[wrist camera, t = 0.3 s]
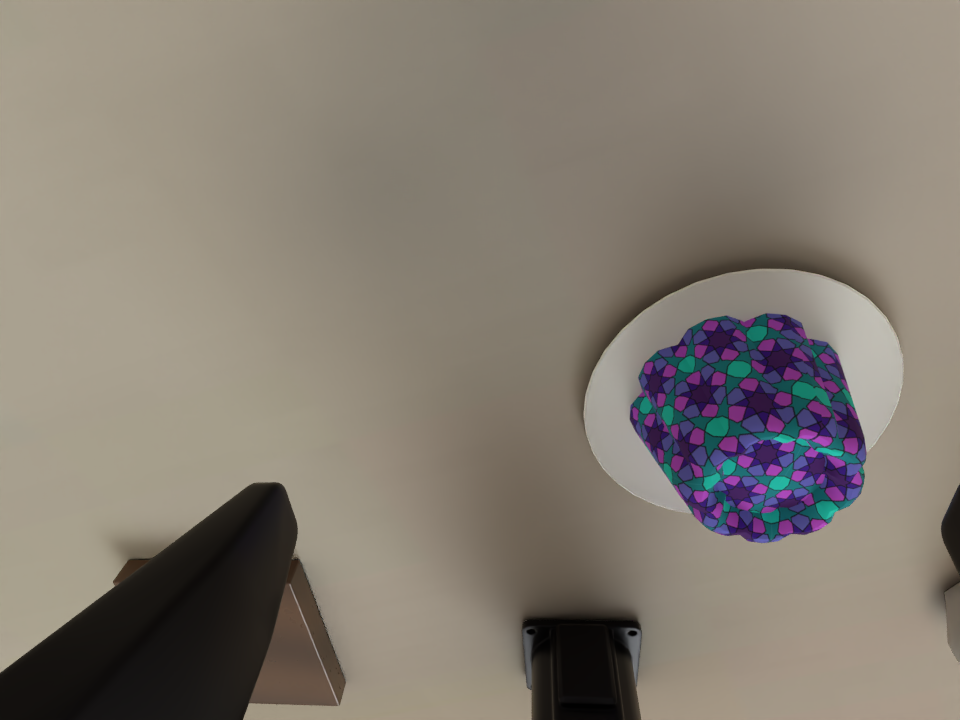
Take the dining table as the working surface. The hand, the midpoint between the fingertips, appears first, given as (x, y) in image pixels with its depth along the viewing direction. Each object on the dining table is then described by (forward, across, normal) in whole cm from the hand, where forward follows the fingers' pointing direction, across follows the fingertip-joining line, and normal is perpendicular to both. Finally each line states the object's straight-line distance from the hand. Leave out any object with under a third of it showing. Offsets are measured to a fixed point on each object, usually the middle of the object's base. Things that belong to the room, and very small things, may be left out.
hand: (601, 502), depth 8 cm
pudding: (+14, -7, +8) cm, 18 cm away
